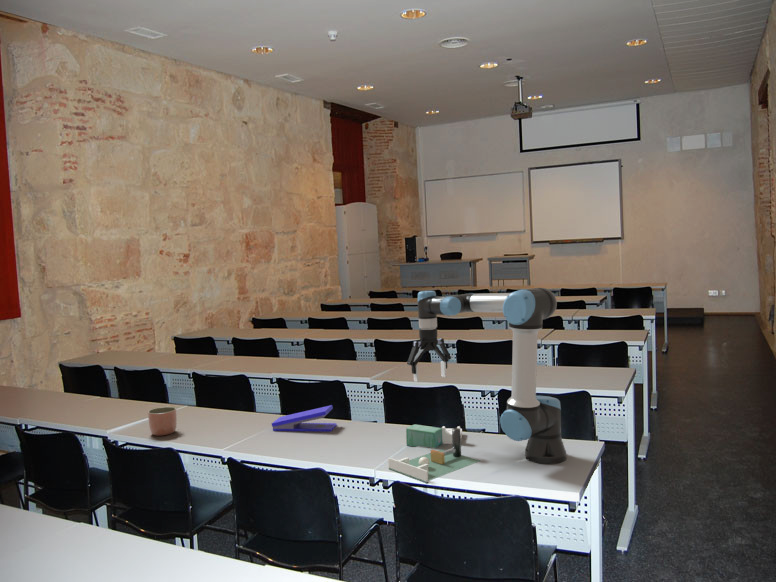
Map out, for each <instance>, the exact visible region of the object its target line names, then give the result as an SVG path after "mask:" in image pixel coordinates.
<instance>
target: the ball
mask: <svg viewBox="0 0 776 582" xmlns="http://www.w3.org/2000/svg"><path fill="white" fill-rule="evenodd" d="M424 464H428V466H429V464H430V462H429V459H428V458H426V457H422V458H420V459H419V466H421V465H424Z"/></svg>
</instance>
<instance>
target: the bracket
mask: <svg viewBox="0 0 776 582" xmlns="http://www.w3.org/2000/svg"><path fill="white" fill-rule="evenodd" d="M441 428H442V445H453V444H452V429H453V428H446V426H444V425H443V426H442V427H441ZM456 428H458V429H460V432H461V439H462V437H463V428H461V426H460V425H459V426H457V427H456Z"/></svg>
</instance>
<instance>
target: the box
mask: <svg viewBox="0 0 776 582" xmlns="http://www.w3.org/2000/svg"><path fill="white" fill-rule="evenodd" d="M405 430H406V431H405V432H406V435H405V436H406V437H405V439H406V446H409V447H423V448H432V449H436V448H438V447H439V446H441V445H443V443H442V427H436V426H429V425H422V424H417V423H416V424H412V425H410V426H408V427H406V428H405Z"/></svg>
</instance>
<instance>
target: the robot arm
mask: <svg viewBox="0 0 776 582" xmlns="http://www.w3.org/2000/svg"><path fill="white" fill-rule="evenodd" d="M416 303H417V312H418V328H419V330H418V338H419V341H415V340H414V341H413V342H412V347H411V351H410V354H409V357H408V359H407V363H406V364H407V365H409V366H411V374H412V375H413V382H415V383H419V382H420V379H419V365H418V363H419V362H420V360H421V358H422V357H423V355H424V354H425V353H426V352H430V351H434V352H435V353H436V355H438V357H439V358H440V360H441V361H440V375H441V377H442V378H447V369H448V362H449V361H450V360H452V356H451V354H450V352H449V350H448V348H447V346H446V343H445V339H444V338H441V337H439V338H438V329H437V328H438V316H447V317H451V316H458V314H461V313H503V317H505V320H506V321H507V323H508V328H509V329H510V330H511V331H512V355H511V356H512V359H511V360H512V361H511V362H512V365H511V396H510V397H509V398H508V399H507V401H506V409H505V410H504V411H503V413H501V416H500V418H499V422H500V427H501V429H502V432H503V433H505V436H506V437H508V438H509V440H512V441H515V442H522V441H527V443H526V446H525V451H524V456H525V458H526V459H527V460H528V461H530V462H533V463H535V464H536V463H537V464H545V465H546V464H548V465H549V464H551V465H552V464H560V463H562V462H564V461H566V460H567V450H566V448H565V445H564V441H563V439H562V422H561V421H562V415H561V414H562V413H561V411H562V408H561V401H560V400H559V398H556V397H552V396H549V395H547V396H546V395H537V370H538V368H537V367H538V365H537V364H538V361H537V360H538V335H539V333H540V331H541V330H542V329H543V320H546V319H549V318H550V317H552V316H553V314H554V313H555V312H556V310H557V306H558V305H557V304H558V302H557V298H556V296H555V294H554V293H553V292H552V291H551V290H550V289H547V288H544V287H534V288H525V289H519V290H516V291H512V292H501V293H500V292H498V293H497V292H496V293H495V292H494V293H491V292H490V293H473V292H469V293H464V294H463V293H462V294H453V295H445V296H443V295H442V296H438V295H437V293H436V291H435V290H422V291H419V292H418V293H417V302H416ZM437 315H438V316H437ZM438 345H439V346H438Z"/></svg>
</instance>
